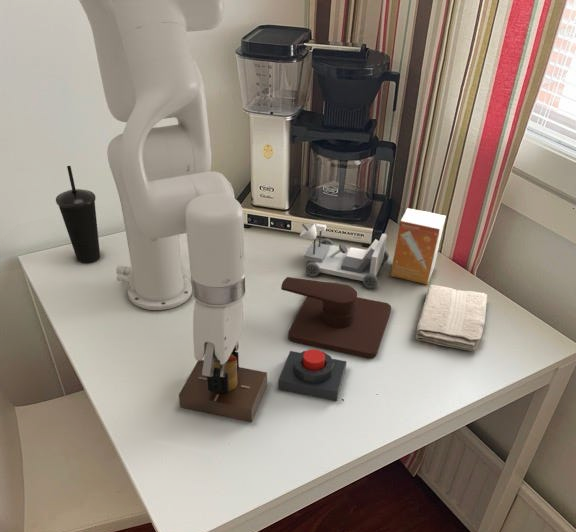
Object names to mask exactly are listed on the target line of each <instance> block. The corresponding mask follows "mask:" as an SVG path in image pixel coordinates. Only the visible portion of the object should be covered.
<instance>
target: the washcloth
mask: <svg viewBox="0 0 576 532" xmlns="http://www.w3.org/2000/svg"><path fill="white" fill-rule="evenodd" d="M487 302H488V294H487V293H485V292H479V291H473V290H463V289H461V290H459V289H454V288H452V287H448V286H442V285H437V284H436V285H435V284H430V285H428V287H427V292H426V295H425V300H424V303H423V305H422V309H421V312H420V313H421V314H420V316H419V319H418V322H417V326H416V334H415V340H417V341H421V342H426V343H429V344H434V345H438V346H443V347H448V348H449V347H450V348H454V349H460V350H463V351H472V352H475V351H476V350H477V349H478V347H479V345H480V340H481V339H482V337H483V332H484V327H485V324H486V314H487Z"/></svg>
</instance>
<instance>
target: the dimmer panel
mask: <svg viewBox="0 0 576 532" xmlns="http://www.w3.org/2000/svg"><path fill="white" fill-rule="evenodd" d="M203 363H204V359H202V360H201V361H199V360H197V362H196V364H195V365H194V367H193V369H192V370H191V372H190V374H189V375H188V378H187V379H186V380H185V383H184V384H183V386H182V388H181V390H180V392H179V393H178V401H179V408H180V409H184V410H190V411H193V412H198V413H204V414H209V415H214V416H218V417H223V418H229V419H233V420H238V421H242V422H247V423H252V422H253V420H254V418H255V416H256V414H257V411H258V409H259V406H260V404H261V401H262V399H263V398H264V397H263V396H264V395H265V392H266V389H267V387H268V372H267V371H263V370H262V371H261V370H257V369H251V368H245V367H242V366H241V367H240V366H239V370H238V372H237V379H238V383H237V386H236V387H235V388H234V389H233V390H231V391H228V393H227V394H223V393H218V392H213V391H209V390H208V380H207V376H204V375H202V370H203Z"/></svg>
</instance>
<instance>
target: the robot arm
mask: <svg viewBox="0 0 576 532" xmlns="http://www.w3.org/2000/svg"><path fill="white" fill-rule="evenodd" d="M78 1H79V3H80V5H81V7H82V9H83V11H84V13H85V15H86V17H87V20H88V22H89V24H90V29H91V32H92V37H93V42H94V48H95V52H96V58H97V62H98V68H99V69H98V70H99V73H100V78H101V82H102V89H103V93H104V98H105V102H106V105H107V108H108V110H109V112H110V114H111V115H112V117H113V118H114V119H115V120H116V121H119V122H121V123H126V124H125V127H124V129H123V132H122V133H120V134H118V135H116V136H115V137H113V138H112V139H111V140H110V141H109V143H108V145H107V150H106V155H107V161H108V165H109V166H108V167H109V169H110V171H111V174H112V178H113V181H114V184H115V186H116V190H117V193H118V198H119V202H120V207H121V213H122V218H123V224H124V228H125V235H126V242H127V247H128V253H129V259H130V260H129V261H130V264H131V266H130V267H129V266H126V265H121V264H117V266H116V269H115V273H116V274H117V275H116V281H118V282H123V283H127V284H129V285H128V287H127V296H128V299H129V301H130V302H131V304H134V305H135V306H137V307H138V308H141V309H144V310H150V311H165V310H170V309H175V308H176V307H178V306H182V305H183V304H185V303H186V302H187V301H188V300H189V299H190V298H191V296H192V298H193V300H194V301H195V302H194V306H193V319H192V320H193V321H192V331H193V332H192V335H193V356H194V359H195V360H196V361H198V360H199V361H201V360H204V363H203V370H202V375H204V376H207V380H208V390H209V391H213V392H218V393H223V394H227V393H228V391H229V388H228V373H225V370H226V362H227V360H228V358H229V357H230V355H231V354H232V355H234V356H235V357H236V359H237V372H238V370H239V367H240V364H239V363H240V362H239V361H240V360H239V352H238V350H239V346H240V345H239V339H240V338H241V335H242V332H243V329H244V304H243V303H244V302H243V299H244V298H245V296H246V263H245V261H246V260H245V259H246V258H245V217H244V210H243V207H242V205H241V203H240V202H239V201H238V200H237V199H236V197H235V192H234V188H233V185H232V184H231V182H230V181H229V180H228V179H227V177H225V175H224V174H222V173H221V172H219V171H214V170H213V171H212V170H211V169H212V161H213V160H212V145H211V135H210V128H209V127H210V126H209V117H208V108H207V99H206V90H205V84H204V79H203V76H202V73H201V70H200V68H199V66H198V64H197V62H196V60H195V59H194V58H193V55H192V49H191V45H190V40H189V35H188V33H191V32H201V31H210V30H214V29H216V28H217V27H218V26H219V25H220V24H221V22H222V21H223V17H224V12H225V0H78ZM172 118H175V119H176V120H177V124H173V125H163V126H159V127H158V126H157V127H155V126H156V125H157V124H158V123H159V122H161V121H162V120H165V119H172ZM184 234H186V239H187V240H186V241H187V250H188V251H187V252H188V262H189V272H190V279H189V278H188V277H186V276H185V275H184V272H183V263H182V253H181V243H180V235H184ZM214 362H218V363H220V369H219V368H215V367H214Z"/></svg>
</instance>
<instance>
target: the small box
mask: <svg viewBox="0 0 576 532" xmlns="http://www.w3.org/2000/svg"><path fill="white" fill-rule="evenodd" d="M446 219H447V215H443V214H439V213H434V212H431V211H425V210H419V209H415V208H409V207H407V208H406V210H405V212H404V213H403V215H402V217H401V219H400V221H399V227H398V232H397V238H396V243H395V248H394V254H393V258H392V259H393V260H392V266H391V271H390V277H393V278H398V279H402V280H406V281H411V282H414V283H419V284H423V285H426V286H427V285H429V281H430V280H431V277H432V274H433V273H434V270H435V265H436V261H437V257H438V254H439V253H438V252H439V248H440V243H441V238H442V235H443V231H444V226H445V222H446Z"/></svg>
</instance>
